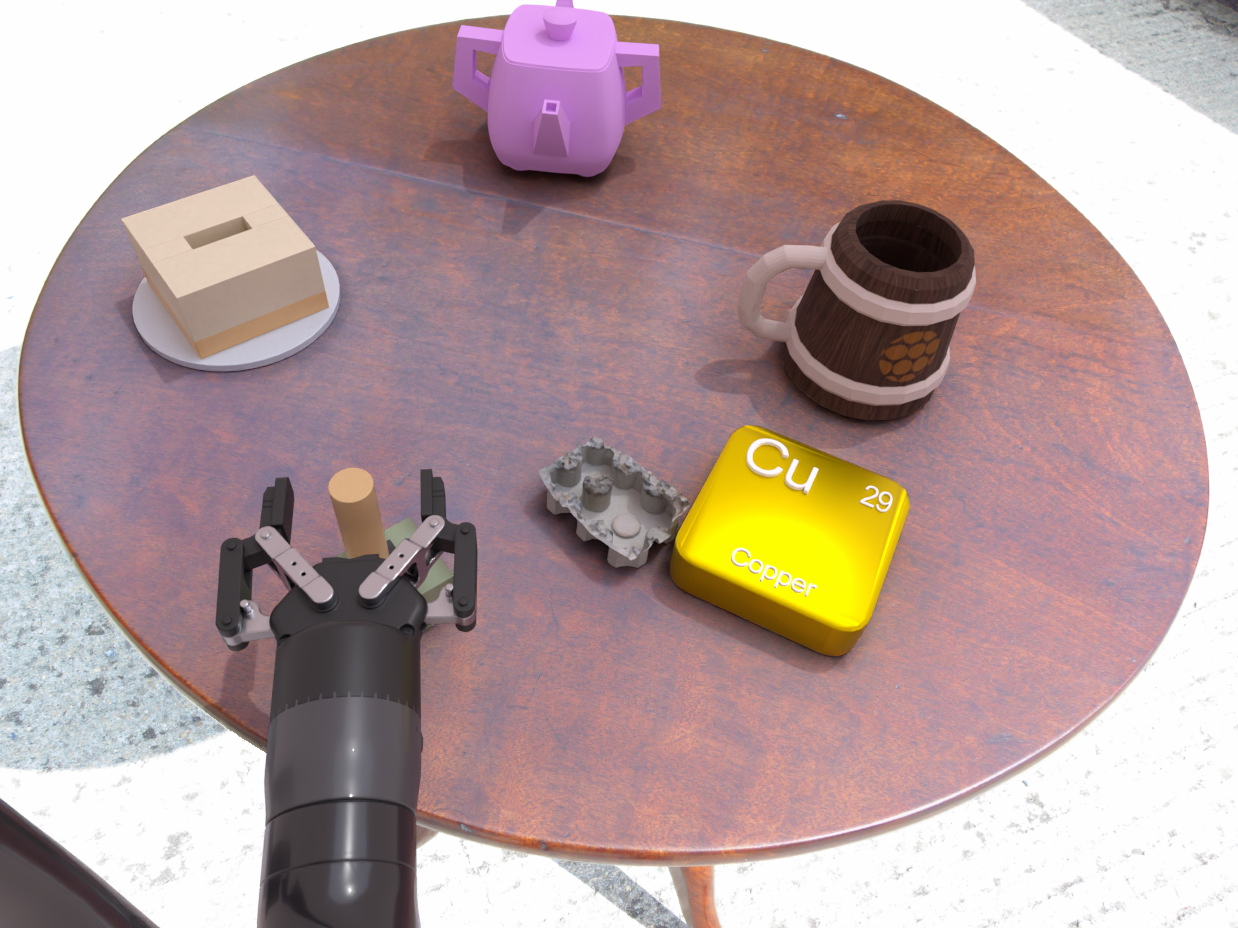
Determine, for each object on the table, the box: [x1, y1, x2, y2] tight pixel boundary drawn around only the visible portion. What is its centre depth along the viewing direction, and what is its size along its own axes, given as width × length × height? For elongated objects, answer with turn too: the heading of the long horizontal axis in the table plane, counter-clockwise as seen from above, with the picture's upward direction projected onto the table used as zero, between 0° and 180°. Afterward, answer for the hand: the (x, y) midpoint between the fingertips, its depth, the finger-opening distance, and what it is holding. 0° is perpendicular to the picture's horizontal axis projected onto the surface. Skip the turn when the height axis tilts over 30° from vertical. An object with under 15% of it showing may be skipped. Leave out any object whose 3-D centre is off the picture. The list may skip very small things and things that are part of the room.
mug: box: [737, 199, 977, 421], centre depth 80 cm, size 20×15×15 cm
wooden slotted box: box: [120, 174, 329, 359], centre depth 81 cm, size 12×12×7 cm
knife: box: [327, 467, 396, 559], centre depth 60 cm, size 4×3×16 cm
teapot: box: [451, 0, 662, 178], centre depth 98 cm, size 19×18×15 cm
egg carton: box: [538, 435, 690, 569], centre depth 72 cm, size 11×8×4 cm
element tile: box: [669, 424, 911, 657], centre depth 71 cm, size 15×15×5 cm
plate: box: [132, 248, 342, 373], centre depth 84 cm, size 18×18×1 cm
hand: (356, 480), depth 57 cm, fingers open, 8 cm apart
